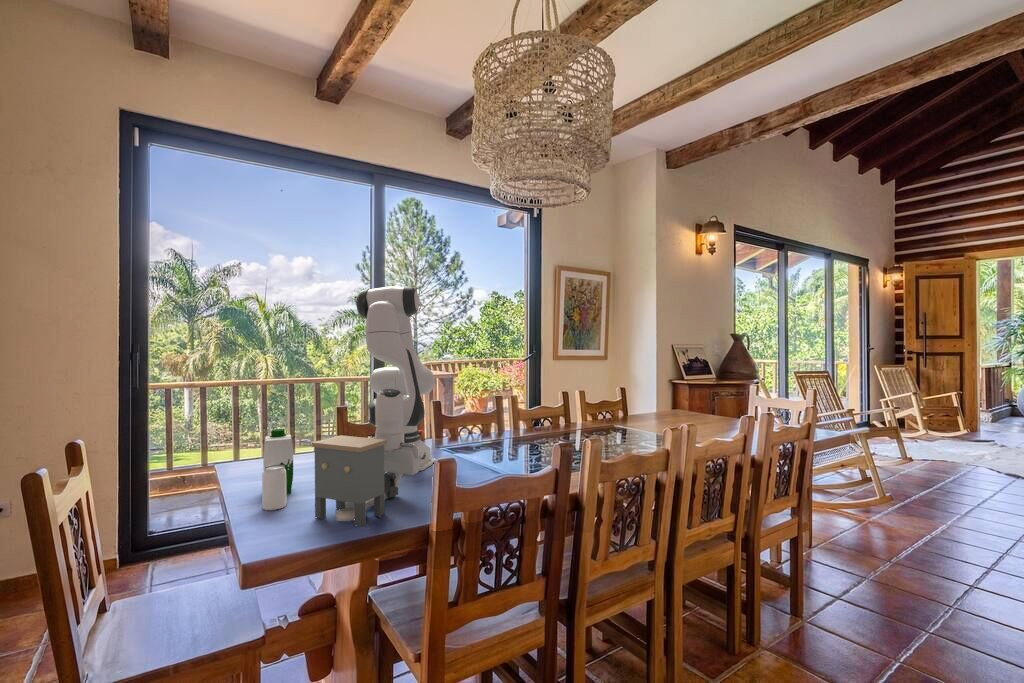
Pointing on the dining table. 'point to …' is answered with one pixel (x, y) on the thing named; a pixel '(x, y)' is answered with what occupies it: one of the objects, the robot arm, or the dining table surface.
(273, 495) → the can
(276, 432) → the milk carton
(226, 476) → the dining table surface
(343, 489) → the cabinet
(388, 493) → the block
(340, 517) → the coaster
